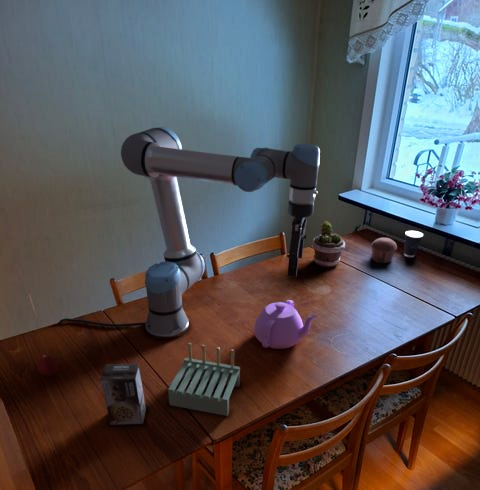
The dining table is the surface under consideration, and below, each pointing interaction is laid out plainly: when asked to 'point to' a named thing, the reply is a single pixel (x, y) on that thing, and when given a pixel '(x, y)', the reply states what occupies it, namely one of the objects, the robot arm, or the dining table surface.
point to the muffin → (383, 250)
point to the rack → (204, 384)
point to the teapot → (281, 325)
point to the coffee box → (123, 393)
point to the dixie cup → (412, 243)
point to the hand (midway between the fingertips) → (295, 266)
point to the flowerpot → (327, 247)
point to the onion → (47, 365)
